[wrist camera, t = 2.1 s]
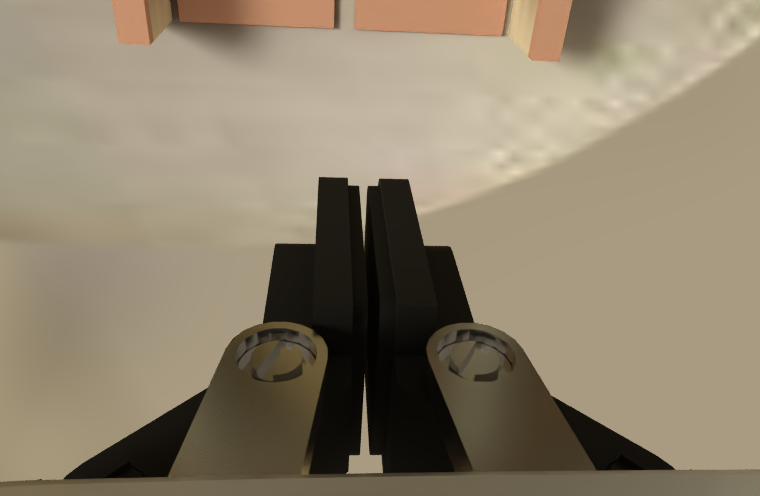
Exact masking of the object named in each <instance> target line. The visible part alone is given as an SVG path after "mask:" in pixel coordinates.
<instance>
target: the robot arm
mask: <svg viewBox="0 0 760 496" xmlns="http://www.w3.org/2000/svg"><path fill="white" fill-rule="evenodd" d="M364 375H365V386H366V401H367V402H366V403H367V420H368V436H369V451H370V455H382V465H383V473H366V474H346V473H347V472H348V466H349V455H360V443H361V426H362V425H361V424H362V408H363V391H364ZM0 496H760V470H755V469H750V470H675V469H674V468H673V467H672V466H671V465H669V464H668V463H666V462H665V461H663V460H662V459H661V458H659V457H658V456H656V455H655V454H653V453H651V452H649V451H648V450H646V449H644V448H642V447H641V446H639V445H637V444H635V443H633V442H632V441H630V440H628V439H626V438H624V437H623V436H621V435H619V434H618V433H616V432H614V431H612V430H611V429H609V428H607V427H605V426H604V425H602V424H600V423H598V422H597V421H595V420H593V419H591V418H590V417H588V416H586V415H584V414H583V413H581V412H579V411H577V410H576V409H574V408H572V407H570V406H568V405H567V404H565V403H563V402H562V401H560V400H558V399H556V398H555V397H553V396H551V395H550V393H549V391H548V390H547V388H546V386H545V385H544V383H543V381H542V380H541V378H540V376H539V375H538V373H537V372H536V370H535V368H534V367H533V365H532V363H531V362H530V360H529V358H528V357H527V355H526V353H525V352H524V350H523V349H522V348H521V346H520V345H519V344H518V343H517V342H516V340H515V339H513V338H512V337H510V336H509V335H507V334H506V333H505V332H503V331H500V330H498V329H496V328H493V327H491V326H487V325H483V324H478V323H474V321H473V318H472V315H471V311H470V308H469V304H468V301H467V298H466V295H465V291H464V288H463V285H462V281H461V278H460V275H459V271H458V268H457V265H456V262H455V258H454V255H453V252H452V250H451V247H449V246H424V244H423V239H422V235H421V231H420V227H419V222H418V218H417V214H416V210H415V205H414V201H413V197H412V192H411V188H410V184H409V180H408V179H379V183H378V186H368V189H367V205H366V225H365V246H364V245H363V231H362V218H361V205H360V192H359V186H348V178H330V177H319V185H318V205H317V226H316V244H275V249H274V255H273V261H272V268H271V274H270V281H269V287H268V294H267V300H266V307H265V313H264V320H263V324H259V325H256V326H253V327H251V328H249V329H246V330H244V331H243V332H241V333H240V334H239V335H237V336H236V337H234V338H233V339H232V341H231V342H230V344H229V345H228V346H227V348H226V349H225V352H224V354H223V356H222V358H221V360H220V363H219V365H218V367H217V369H216V371H215V374H214V376H213V378H212V380H211V382H210V385H209V387H208V388H207V389H205V390H203V391H202V392H200V393H198V394H197V395H195V396H193V397H192V398H190V399H188V400H187V401H185V402H184V403H182V404H180V405H179V406H177V407H175V408H173V409H172V410H170V411H168V412H167V413H165V414H163V415H162V416H160V417H159V418H157V419H155V420H154V421H152V422H151V423H149V424H147V425H145V426H144V427H142V428H140V429H139V430H137V431H136V432H134V433H132V434H130V435H129V436H127V437H126V438H124V439H122V440H120V441H119V442H117V443H115V444H114V445H112V446H111V447H109V448H107V449H106V450H104V451H102V452H101V453H99V454H98V455H96V456H94V457H92V458H91V459H89V460H87V461H86V462H84V463H82V464H81V465H80V466H78V467H77V468H76V469H75V470H73V471H72V472H71V473H69V474H68V475H67V476H66V477H65V478H64V479H63V480H42V479H40V480H25V481H7V482H0Z"/></svg>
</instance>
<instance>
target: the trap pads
mask: <svg viewBox="0 0 760 496" xmlns="http://www.w3.org/2000/svg"><path fill="white" fill-rule="evenodd" d="M572 1H573V0H538V5H537V10H536V16H535V21H534V26H533V32H532V37H531V43H530V48H529V53H528V57H529V58H530V59H531V60H535V61H560V57H561V52H562V47H563V43H564V38H565V33H566V29H567V24H568V19H569V15H570V10H571V5H572ZM177 2H178V11H179V20H180V22H200V23H223V24H246V25H269V26H292V27H314V28H334V0H177ZM112 5H113V11H114V17H115V23H116V29H117V35H118V41H119V44H140V45H150V44H151V43H152V42H153V41H154V40H153V33H152V25H151V18H150V11H149V3H148V0H112ZM506 6H507V0H355V29H360V30H383V31H406V32H429V33H452V34H474V35H497V36H502V31H503V25H504V19H505V13H506Z"/></svg>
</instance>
